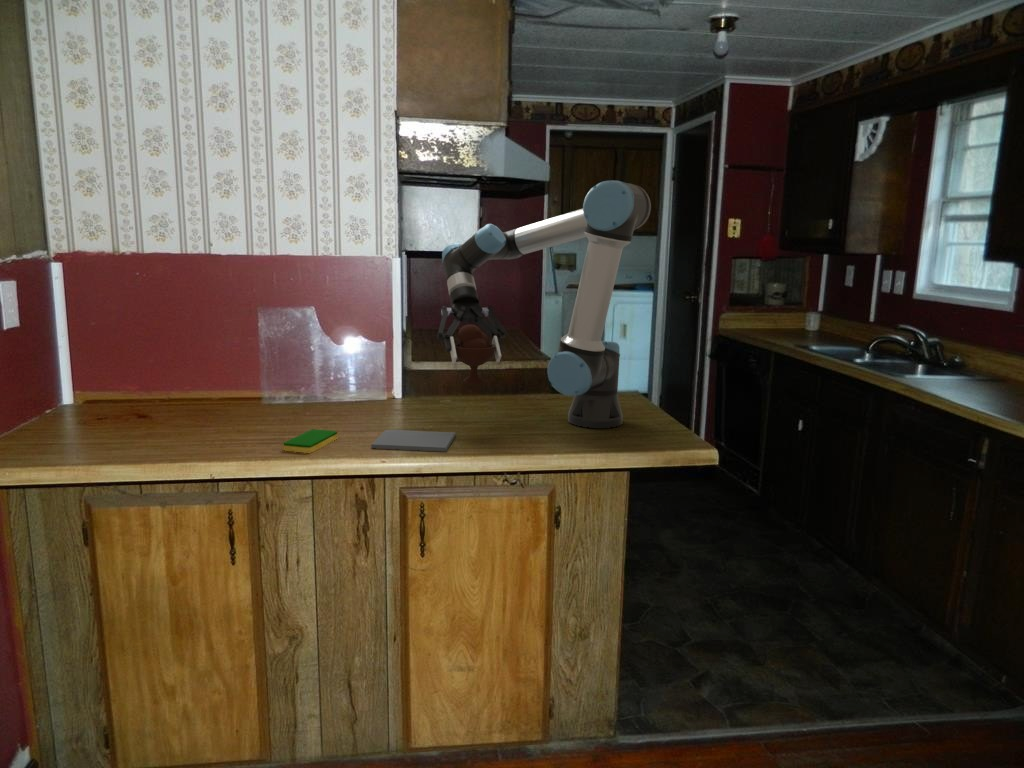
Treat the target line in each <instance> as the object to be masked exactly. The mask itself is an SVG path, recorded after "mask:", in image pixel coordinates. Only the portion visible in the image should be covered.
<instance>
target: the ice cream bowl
mask: <svg viewBox="0 0 1024 768" xmlns="http://www.w3.org/2000/svg"><path fill="white" fill-rule="evenodd" d="M457 337H458V338H457V339H459V343H454V344H455V349H456V354H457V360H459V361H460V362H462V363H463V364H464V365H466V366H469V368H470V374H469V375H468V376H466V377H465V378H464V379H463V383H465V384H471V385H472V384H473V385H474V384H482V383H485V380H484V378H483V377H481V376H480V375H478V369H479V366H482V365H484V364H486V363H487V362H489V361H490V359H492V357H493V356H494V355H495V354H494V351H495V345H494V344H492V343H490V341H489V339H490V336H489V335H488V334H487V333H486V332H485V331H484V330H481V327H480V326H478V325H477V324H472V323H469V324H465V325H463V326H461V328H460V329H459V330H458V333H457Z"/></svg>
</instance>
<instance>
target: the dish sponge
mask: <svg viewBox="0 0 1024 768" xmlns="http://www.w3.org/2000/svg"><path fill="white" fill-rule="evenodd" d="M338 437H339V436H338V431H337V430H327V429H326V430H325V429H315V428H314V429H309V430H307V431H306V432H304V433H301V434H299V435H297V436H295V437H293V438H291V439H289V440H286V441H285V442H283V444H282V445H283V451H284V450H285V451H284V452H286V451H294V452H293V453H296V452H304V453H303V454H306V453H311V452H313V451H315V450H317V449H319V448H320V449H322V448H324V447H326V446H327V445H326V444H328V443H330V442H331V443H333V442H335V441H337V440H338V439H339V438H338ZM336 439H337V440H336ZM334 440H335V441H334ZM332 441H333V442H332ZM331 443H330V444H331ZM325 445H326V446H325ZM328 445H329V444H328ZM323 446H324V447H323ZM321 447H322V448H321ZM320 449H319V450H320ZM317 451H318V450H317ZM315 452H316V451H315ZM313 453H314V452H313ZM311 454H312V453H311Z"/></svg>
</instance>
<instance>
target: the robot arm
mask: <svg viewBox="0 0 1024 768" xmlns="http://www.w3.org/2000/svg"><path fill="white" fill-rule="evenodd" d="M651 210H652V203H651V199H650V197H649V194H648V193H647V192H646V190H645V189H644V188H642V186H639V185H637V184H633V183H627V182H624V181H620V180H613V179H611V180H604V181H601V182H599V183H597V184H595V185H594V186H593V187H591V188H590V189H589V191H588V192H587V194H586V195H585V197H584V200H583V204H582V208H580V209H576V210H573V211H569V212H567V213H564V214H560V215H556V216H553V217H550V218H547V219H544V220H541V221H537V222H534V223H530V224H527V225H524V226H520V227H517V228H514V229H510V230H507V231H502V230H501V229H500V228H499V227H498V226H496V225H494V224H492V223H487V224H485V225H484V226H483V227H481V228H479V229H478V230H477V231H476V232H475V233H474V234H473V235H472V236H471V237H470V238H468V239H467V240H465V241H464V243H458V242H456V243H452V244H451V245H450V244H449V245H447V246H445V248H444V249H443V250H442V252H441V258H442V267H443V270H444V274H445V275H444V276H445V278H446V279H445V280H446V286H447V289H448V295H449V300H450V305H451V307H447V306H446V305H442V306H441V309H440V310H441V311H440V317H441V320H440V322H439V323H440V324H439V326H438V330H437V331H438V332H437V335H436V340H437V341H443V344H444V345H445V346H444V347H445V351H446V352H449V353H450V357H451V359H450V360H451V362H452V365H453V364H454V365H455V364H456V362H457V360H458V357H457V354H456V349H455V344H456V343H455V339H454V336H453V334H454V333H455V331H456V329H457V328H458V326H459V325H460V323H462V324H466V323H469V324H473V323H474V324H475V325H476V326H478V327H479V328H480V329H482V331H483V332H484V333H485V334H486V335H487V336H488V337H489V338H490V337H491V338H490V339H491V344H494V345H495V351H494V354H493V355H494V359H495V362H496V363H500V361H501V358H502V353H501V350H502V349H503V342H502V340H504V339H505V337H506V335H507V330H506V328H504V326H503V325H502V323H501V321H500V320H499V317H497V315H496V314H495V313H494V309H493V306H492V305H488V306H487V307H482V306H481V304H480V300H479V295H478V290H477V287H476V282H475V277H474V271H475V270H477V269H479V268H480V267H481V266H482V265H483V264H485V263H486V262H487V261H490V260H509V261H510V260H515V259H518V258H520V257H522V256H523V255H527V254H530V253H534V252H537V251H541V250H545V249H548V248H552V247H555V246H558V245H559V246H560V245H563V244H566V243H570V242H574V241H577V240H580V239H584V238H587V240H588V243H587V247H586V248H587V249H586V251H585V256H584V260H583V264H582V265H583V266H582V271H581V275H580V278H579V279H580V280H579V284H578V288H577V291H576V292H577V294H576V296H575V301H574V306H573V308H572V309H573V310H572V314H571V318H570V323H569V327H568V332H567V334H565V335H563V336H562V337H561V338H560V341H559V344H558V345H559V346H558V350H557V353H556V354H554V355H553V356H552V357H551V358H550V360H549V362H548V363H547V370H546V371H547V378H548V381H549V382H550V384H551V385H552V387H553V389H554V390H555V391H557V392H559V393H560V394H562V395H564V396H569V397H571V396H572V397H573V400H572V402H571V405H570V408H569V410H568V413H567V416H568V417H567V422H568V423H569V424H571V425H573V424H574V426H576V425H577V426H576V427H580V426H582V427H581V428H587V427H589V428H588V429H611V428H610V427H613V428H616V426H617V427H620V426H622V425H621V424H623V418H624V417H623V411H622V408H621V403H620V400H619V396H618V391H619V390H618V389H619V374H620V373H619V370H620V356H621V353H620V345H619V343H618V342H616V341H607V340H602V338H603V337H602V336H603V335H604V334H603V333H604V329H605V324H606V321H607V316H608V312H609V308H610V304H611V303H610V302H611V300H612V295H613V292H614V287H615V283H616V278H617V276H618V271H619V265H620V261H621V257H622V252H623V249H624V247H626V246H628V245H629V244H631V242H632V238H633V235H634V231H635V230H636V229H640V227H642V226H643V225H645V224H646V222H647V220H648V219H649V218H650V217H649V216H650V214H651ZM451 314H452V316H454V317H455V318H454V319H453V321H452V322H451V324H450V326H449V327H448V329H447V331H446V332H445V333H444V330H445V327H446V326H445V325H446V323H447V318H448V317H449V316H450V315H451ZM485 317H486V318H487V319H486V318H485ZM619 425H620V426H619Z"/></svg>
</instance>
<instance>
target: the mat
mask: <svg viewBox="0 0 1024 768" xmlns="http://www.w3.org/2000/svg"><path fill="white" fill-rule="evenodd" d="M455 437H456V432H454V431H453V432H452V431H449V432H447V431H429V430H428V431H426V430H425V431H423V430H407V429H406V430H403V429H399V430H398V429H385V430H384V431H383V432H382V433H381V434H380V435H379V436H378V437H377V438H376V439H375V440H374V441H373V442H372V443H371V445H370V448H371V449H373V448H376V449H377V450H395V449H399V451H418V450H419V451H420V452H421V451H423V452H444V453H445V452H447V451H448V449H449V447H450V445H452V442H453V441H454V439H455ZM376 449H375V450H376ZM419 451H418V452H419Z"/></svg>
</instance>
